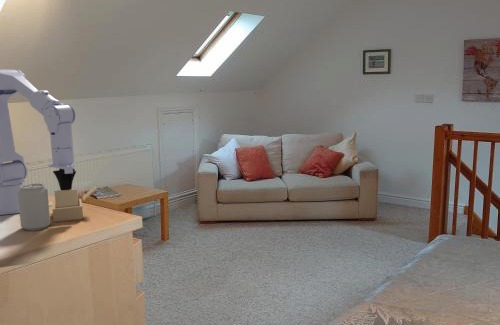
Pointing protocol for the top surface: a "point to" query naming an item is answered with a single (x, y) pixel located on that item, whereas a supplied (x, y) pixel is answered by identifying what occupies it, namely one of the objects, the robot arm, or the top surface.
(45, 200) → the can
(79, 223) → the top surface
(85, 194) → the side flap
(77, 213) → the carton
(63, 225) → the top surface
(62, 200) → the long flap
